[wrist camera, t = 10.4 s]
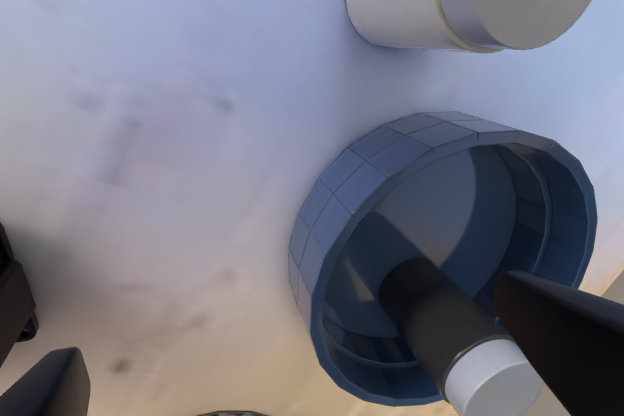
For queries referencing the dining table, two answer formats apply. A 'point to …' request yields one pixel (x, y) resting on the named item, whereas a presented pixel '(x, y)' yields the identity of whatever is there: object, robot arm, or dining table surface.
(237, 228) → the dining table surface
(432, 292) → the pepper shaker
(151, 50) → the dining table surface
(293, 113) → the dining table surface
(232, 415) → the lantern
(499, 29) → the salt shaker
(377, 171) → the bowl
